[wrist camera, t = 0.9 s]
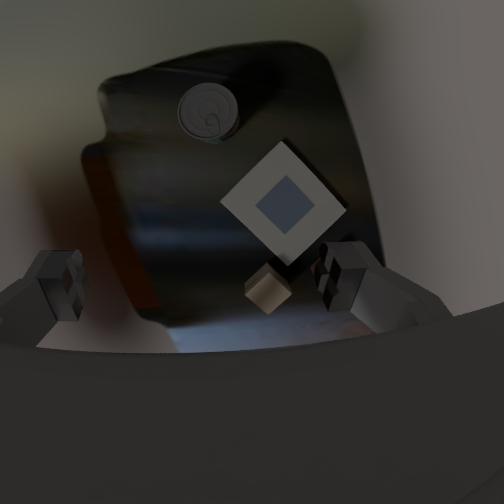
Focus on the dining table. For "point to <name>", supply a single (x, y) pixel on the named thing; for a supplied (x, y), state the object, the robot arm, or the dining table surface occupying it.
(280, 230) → the white flat square slab
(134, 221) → the dining table surface
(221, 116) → the canned tomato
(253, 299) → the birch block
